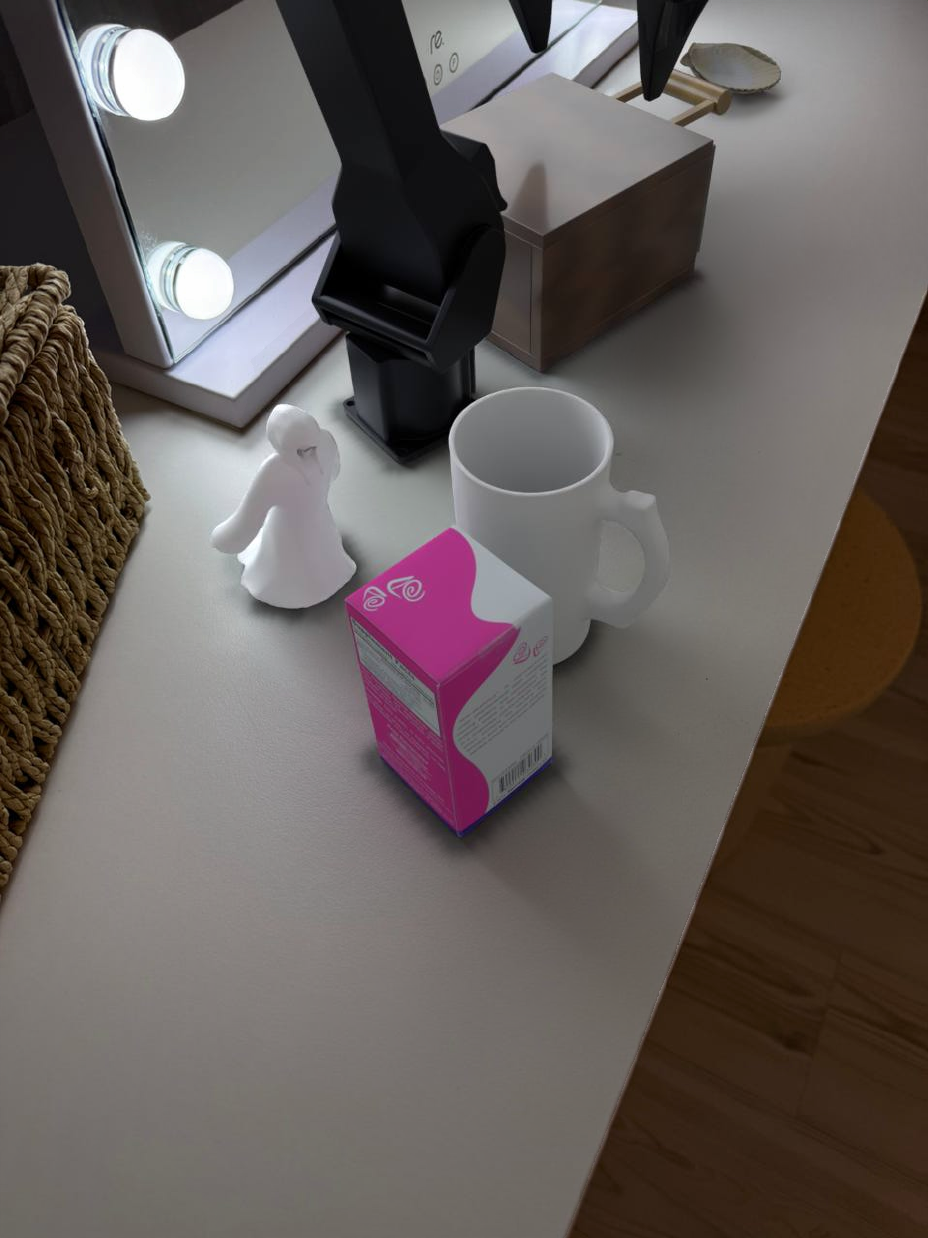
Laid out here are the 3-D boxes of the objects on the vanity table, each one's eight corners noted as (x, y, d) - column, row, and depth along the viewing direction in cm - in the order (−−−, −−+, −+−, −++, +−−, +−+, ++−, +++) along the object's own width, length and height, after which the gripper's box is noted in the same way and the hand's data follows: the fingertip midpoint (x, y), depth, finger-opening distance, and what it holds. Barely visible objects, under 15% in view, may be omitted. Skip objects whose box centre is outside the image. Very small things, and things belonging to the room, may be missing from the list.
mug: (435, 641, 51) (417, 461, 42) (500, 553, 55) (498, 368, 45) (620, 724, 48) (647, 548, 38) (677, 624, 51) (714, 440, 42)
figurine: (294, 649, 51) (244, 471, 42) (191, 573, 55) (124, 393, 45) (398, 560, 55) (373, 377, 45) (295, 494, 58) (253, 312, 49)
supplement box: (468, 685, 49) (457, 516, 40) (555, 763, 46) (564, 601, 38) (373, 756, 47) (339, 594, 38) (458, 843, 44) (444, 690, 35)
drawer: (618, 157, 78) (627, 45, 72) (753, 218, 72) (775, 102, 66) (427, 260, 71) (419, 145, 64) (560, 339, 64) (565, 219, 58)
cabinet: (548, 201, 77) (551, 71, 69) (693, 274, 70) (714, 139, 63) (396, 283, 71) (383, 151, 63) (540, 372, 64) (543, 235, 57)
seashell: (752, 133, 85) (791, 71, 88) (761, 102, 82) (801, 39, 85) (662, 96, 87) (703, 37, 89) (668, 65, 84) (710, 5, 87)
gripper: (884, -273, 48) (807, 79, 60) (591, -320, 57) (576, -7, 69) (729, -225, 43) (680, 145, 55) (437, -285, 52) (450, 44, 64)
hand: (593, 73), depth 61 cm, fingers open, 9 cm apart
